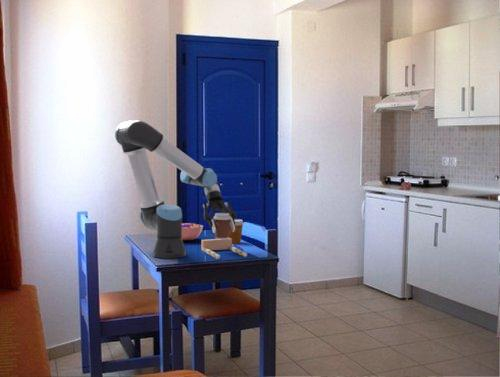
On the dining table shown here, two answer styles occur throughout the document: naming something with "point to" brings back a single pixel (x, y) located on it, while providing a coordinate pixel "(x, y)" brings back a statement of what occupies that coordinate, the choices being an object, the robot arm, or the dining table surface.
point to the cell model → (190, 231)
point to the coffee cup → (222, 225)
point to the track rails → (219, 255)
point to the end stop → (216, 244)
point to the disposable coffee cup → (236, 232)
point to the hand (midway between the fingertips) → (224, 230)
